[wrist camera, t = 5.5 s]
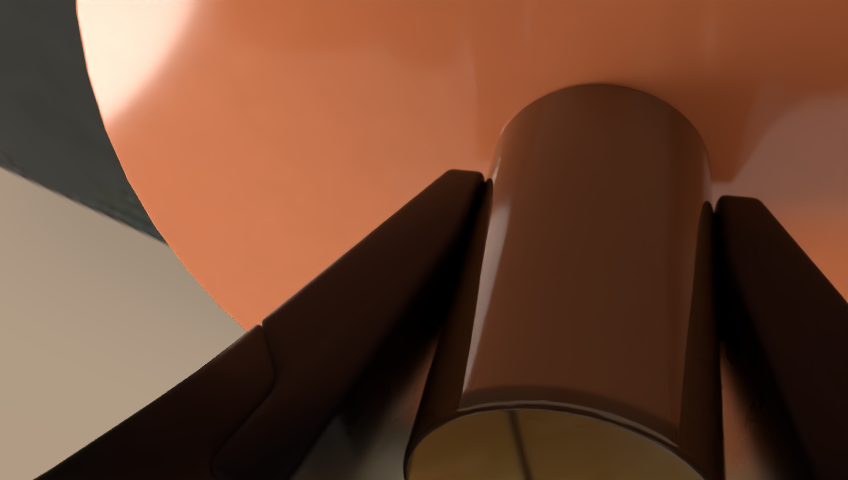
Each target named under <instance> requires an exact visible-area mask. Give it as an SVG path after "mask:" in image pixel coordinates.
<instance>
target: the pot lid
mask: <svg viewBox="0 0 848 480" xmlns="http://www.w3.org/2000/svg"><path fill="white" fill-rule="evenodd" d="M76 12H77V18H78V23H79V29H80V34H81V40H82V45H83V51H84V56H85V62H86V67H87V73H88V76H89V79H90V82H91V85H92V89H93V92H94V95H95V98H96V101H97V105H98V108H99V111H100V114H101V117H102V120H103V124H104V127H105V130H106V132H107V134H108V136H109V139H110V141H111V143H112V145H113V148H114V150H115V152H116V154H117V157H118V159H119V161H120V163H121V165H122V168H123V170H124V172H125V174H126V177H127V179H128V181H129V183H130V184H131V186H132V188H133V189H134V191H135V193H136V195H137V196H138V198H139V200H140V201H141V203H142V205H143V206H144V208H145V210H146V212H147V213H148V215H149V217H150V218H151V220H152V222H153V224H154V225H155V227H156V228H157V230H158V231H159V232H160V234H161V235H162V236H163V238H164V239H165V240H166V242H167V243H168V245H169V246H170V247H171V249H172V250H173V251H174V253H175V254H176V256H177V257H178V258H179V260H180V261H181V262H182V264H183V265H184V266H185V268H186V269H187V270H188V271H189V272H190V273H191V275H192V276H193V277H194V278H195V279H196V280H197V281H198V282H199V283H200V285H201V286H202V287H203V288H204V289H205V290H206V291H207V292H208V294H209V295H210V296H211V297H212V298H213V299H214V300H215V301H216V303H217V304H218V305H219V306H220V307H221V308H222V309H223V310H224V311H226V312H227V313H228V314H229V315H230V316H231V317H232V318H233V319H234V320H235V321H236V322H237V323H238V324H239V325H241V326H242V327H243V328H244V329H245V330H246V331H247V332H248V331H249V330H250V329H251V328H253V327H254V326H255V325H257V324H259V325H261V326H262V320H263V319H264V318H265V317H267V316H268V315H269V314H270V313H272V312H273V311H274V310H275V309H277V308H278V307H279V306H280V305H282V304H283V303H284V302H285V301H287V300H288V299H289V298H290V297H291V296H293V295H294V294H295V293H296V292H298V291H299V290H300V289H301V288H303V287H304V286H305V285H306V284H308V283H309V282H310V281H311V280H312V279H314V278H315V277H316V276H317V275H319V274H320V273H321V272H322V271H324V270H325V269H326V268H327V267H329V266H330V265H331V264H332V263H333V262H335V261H336V260H337V259H338V258H340V257H341V256H342V255H343V254H345V253H346V252H347V251H348V250H350V249H351V248H352V247H353V246H354V245H356V244H357V243H358V242H359V241H361V240H362V239H363V238H364V237H366V236H367V235H368V234H369V233H371V232H372V231H373V230H374V229H375V228H377V227H378V226H379V225H380V224H382V223H383V222H384V221H385V220H387V219H388V218H389V217H390V216H392V215H393V214H394V213H395V212H397V211H398V210H399V209H400V208H401V207H403V206H404V205H405V204H406V203H408V202H409V201H410V200H411V199H413V198H414V197H415V196H416V195H418V194H419V193H420V192H421V191H422V190H424V189H425V188H426V187H427V186H429V185H430V184H431V183H432V182H434V181H435V180H436V179H437V178H439V177H440V176H441V175H442V174H443V173H445V172H446V171H448V170H450V169H461V170H471V171H479V172H481V173H482V174H483V176H484V178H485V184H484V187H483V190H482V194H481V197H480V201H479V204H478V207H477V211H476V214H475V217H474V221H473V224H472V228H471V231H470V234H469V238H468V241H467V244H466V248H465V251H464V254H463V258H462V261H461V264H460V268H459V271H458V274H457V278H456V281H455V284H454V288H453V291H452V295H451V298H450V301H449V305H448V308H447V311H446V315H445V318H444V321H443V325H442V328H441V332H440V335H439V338H438V342H437V345H436V348H435V352H434V355H433V359H432V362H431V365H430V369H429V372H428V375H427V379H426V382H425V386H424V389H423V392H422V396H421V399H420V402H419V406H418V409H417V412H416V416H415V419H414V423H413V426H412V429H411V433H410V436H409V439H408V443H407V446H406V450H405V454H404V458H403V476H404V480H726V463H725V442H724V421H723V399H722V378H721V357H720V336H719V315H718V294H717V273H716V252H715V231H714V210H715V206H716V203H717V200H718V199H719V198H720V197H721V196H723V195H732V196H743V197H753V198H757V199H759V200H760V201H762V202H763V204H764V205H765V206H766V207H767V208H768V209H769V211H770V212H771V213H772V214H773V215H774V216H775V218H776V219H777V220H778V221H779V222H780V223H781V225H782V226H783V227H784V228H785V229H786V230H787V232H788V233H789V234H790V235H791V236H792V238H793V239H794V240H795V241H796V242H797V243H798V245H799V246H800V247H801V248H802V249H803V250H804V252H805V253H806V254H807V255H808V256H809V257H810V259H811V260H812V261H813V262H814V263H815V264H816V266H817V267H818V268H819V269H820V270H821V271H822V273H823V274H824V275H825V276H826V277H827V279H828V280H829V281H830V282H831V283H832V284H833V286H834V287H835V288H836V289H837V290H838V291H839V293H840V294H841V295H842V296H843V297H844V298H845V300H846V301H847V302H848V0H76Z"/></svg>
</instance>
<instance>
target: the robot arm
mask: <svg viewBox="0 0 848 480" xmlns="http://www.w3.org/2000/svg"><path fill="white" fill-rule="evenodd" d="M484 184H485V178H484V176H483V174H482V173H481V172H479V171H471V170H461V169H450V170H448V171H446V172H445V173H443V174H442V175H441V176H440V177H439V178H437V179H436V180H435V181H434V182H432V183H431V184H430V185H429V186H427V187H426V188H425V189H424V190H422V191H421V192H420V193H419V194H418V195H416V196H415V197H414V198H413V199H411V200H410V201H409V202H408V203H406V204H405V205H404V206H403V207H401V208H400V209H399V210H398V211H397V212H395V213H394V214H393V215H392V216H390V217H389V218H388V219H387V220H385V221H384V222H383V223H382V224H380V225H379V226H378V227H377V228H375V229H374V230H373V231H372V232H371V233H369V234H368V235H367V236H366V237H364V238H363V239H362V240H361V241H359V242H358V243H357V244H356V245H354V246H353V247H352V248H351V249H350V250H348V251H347V252H346V253H345V254H343V255H342V256H341V257H340V258H338V259H337V260H336V261H335V262H333V263H332V264H331V265H330V266H329V267H327V268H326V269H325V270H324V271H322V272H321V273H320V274H319V275H317V276H316V277H315V278H314V279H312V280H311V281H310V282H309V283H308V284H306V285H305V286H304V287H303V288H301V289H300V290H299V291H298V292H296V293H295V294H294V295H293V296H291V297H290V298H289V299H288V300H287V301H285V302H284V303H283V304H282V305H280V306H279V307H278V308H277V309H275V310H274V311H273V312H272V313H270V314H269V315H268V316H267V317H265V318H264V319H263V320H262V326H261V325H259V324H257V325H255V326H254V327H253V328H251V329H250V330H249V331H248V332H247V333H245V334H244V335H243V336H242V337H240V338H239V339H238V340H237V341H235V342H234V343H233V344H232V345H230V346H229V347H228V348H226V349H225V350H224V351H223V352H221V353H220V354H219V355H217V356H216V357H215V358H213V359H212V360H211V361H210V362H208V363H207V364H206V365H204V366H203V367H202V368H200V369H199V370H198V371H196V372H195V373H193V374H192V375H191V376H189V377H188V378H186V379H185V380H183V381H182V382H181V383H179V384H178V385H176V386H175V387H173V388H172V389H170V390H169V391H167V392H166V393H165V394H163V395H162V396H161V397H159V398H157V399H156V400H154V401H153V402H152V403H150V404H149V405H147V406H146V407H144V408H142V409H141V410H139V411H138V412H136V413H135V414H133V415H132V416H130V417H129V418H128V419H126V420H124V421H123V422H121V423H120V424H118V425H117V426H115V427H114V428H112V429H111V430H109V431H108V432H106V433H105V434H103V435H102V436H100V437H98V438H97V439H95V440H94V441H92V442H91V443H89V444H88V445H87V446H85V447H83V448H82V449H80V450H79V451H78V452H76V453H74V454H73V455H71V456H70V457H68V458H67V459H65V460H64V461H62V462H61V463H59V464H58V465H56V466H55V467H53V468H52V469H50V470H48V471H47V472H45V473H43V474H42V475H40V476H38V477H37V478H35V479H33V480H404V476H403V458H404V454H405V450H406V446H407V443H408V439H409V436H410V433H411V429H412V426H413V423H414V419H415V416H416V412H417V409H418V406H419V402H420V399H421V396H422V392H423V389H424V386H425V382H426V379H427V375H428V372H429V369H430V365H431V362H432V359H433V355H434V352H435V348H436V345H437V342H438V338H439V335H440V332H441V328H442V325H443V321H444V318H445V315H446V311H447V308H448V305H449V301H450V298H451V295H452V291H453V288H454V284H455V281H456V278H457V274H458V271H459V268H460V264H461V261H462V258H463V254H464V251H465V248H466V244H467V241H468V238H469V234H470V231H471V228H472V224H473V221H474V217H475V214H476V211H477V207H478V204H479V201H480V197H481V194H482V190H483V187H484ZM714 231H715V252H716V273H717V294H718V315H719V336H720V357H721V378H722V399H723V421H724V442H725V463H726V480H848V302H847V301H846V300H845V298H844V297H843V296H842V295H841V294H840V293H839V291H838V290H837V289H836V288H835V287H834V286H833V284H832V283H831V282H830V281H829V280H828V279H827V277H826V276H825V275H824V274H823V273H822V271H821V270H820V269H819V268H818V267H817V266H816V264H815V263H814V262H813V261H812V260H811V259H810V257H809V256H808V255H807V254H806V253H805V252H804V250H803V249H802V248H801V247H800V246H799V245H798V243H797V242H796V241H795V240H794V239H793V238H792V236H791V235H790V234H789V233H788V232H787V230H786V229H785V228H784V227H783V226H782V225H781V223H780V222H779V221H778V220H777V219H776V218H775V216H774V215H773V214H772V213H771V212H770V211H769V209H768V208H767V207H766V206H765V205H764V204H763V202H762V201H760V200H759V199H757V198H753V197H743V196H732V195H723V196H721V197H720V198H719V199H718V200H717V203H716V206H715V210H714Z"/></svg>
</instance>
